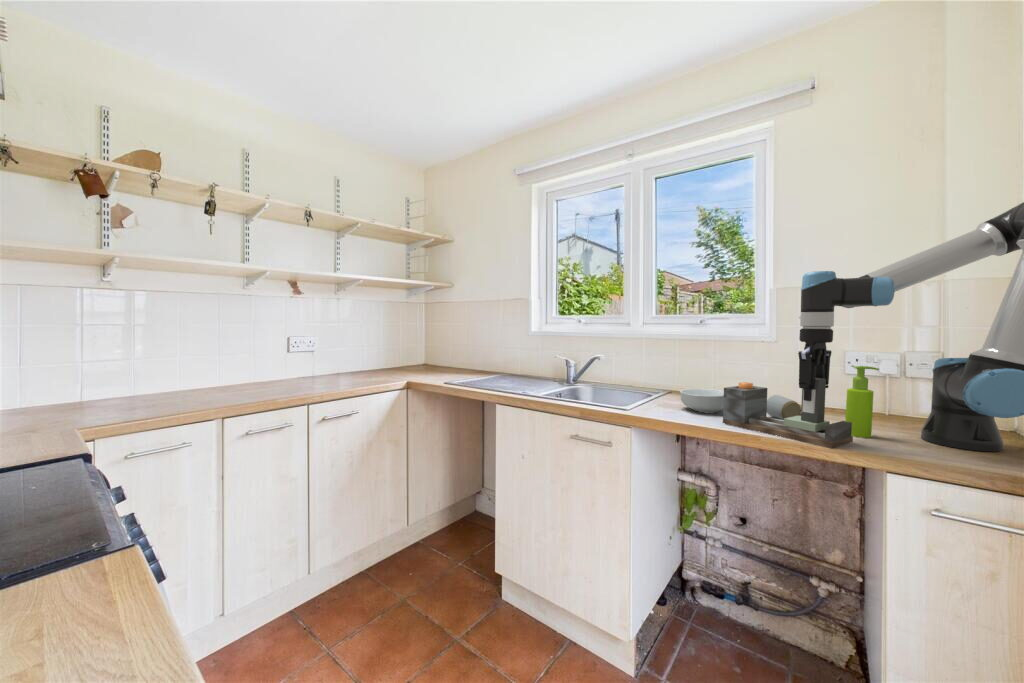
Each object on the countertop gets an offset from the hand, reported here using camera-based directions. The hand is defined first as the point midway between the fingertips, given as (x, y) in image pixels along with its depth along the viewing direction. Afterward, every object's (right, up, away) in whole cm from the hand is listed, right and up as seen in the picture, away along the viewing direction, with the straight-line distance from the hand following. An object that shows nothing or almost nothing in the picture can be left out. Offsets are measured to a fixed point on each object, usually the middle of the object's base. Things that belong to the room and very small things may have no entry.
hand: (812, 411), depth 117 cm
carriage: (-1, -5, +2) cm, 5 cm away
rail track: (-4, -7, +7) cm, 11 cm away
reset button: (-10, +3, +16) cm, 19 cm away
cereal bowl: (-14, -6, +36) cm, 39 cm away
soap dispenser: (+16, -8, +4) cm, 19 cm away
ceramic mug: (+8, -7, +23) cm, 26 cm away
